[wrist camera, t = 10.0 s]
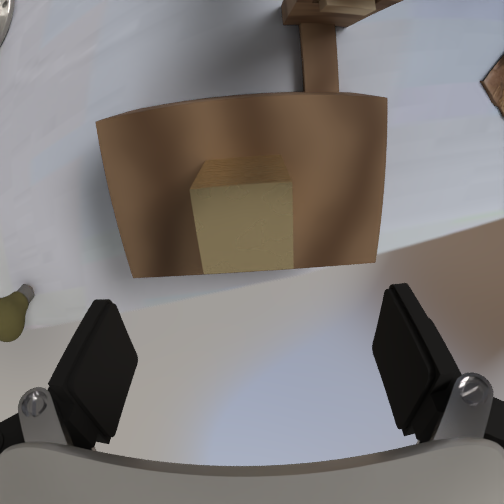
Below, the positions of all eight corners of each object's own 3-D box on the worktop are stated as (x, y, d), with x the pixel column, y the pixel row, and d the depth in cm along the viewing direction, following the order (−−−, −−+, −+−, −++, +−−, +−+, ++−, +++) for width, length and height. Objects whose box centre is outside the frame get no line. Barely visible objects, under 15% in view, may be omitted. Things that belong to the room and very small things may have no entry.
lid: (138, 267, 27) (109, 326, 20) (105, 118, 20) (48, 138, 13) (369, 252, 26) (402, 309, 19) (378, 96, 19) (432, 106, 13)
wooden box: (156, 233, 32) (119, 305, 22) (125, 27, 21) (58, 5, 11) (349, 220, 32) (390, 288, 21) (346, 8, 21) (401, -28, 11)
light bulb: (10, 271, 35) (-27, 315, 26) (36, 271, 35) (-2, 319, 26) (24, 302, 38) (-8, 348, 29) (50, 304, 38) (18, 353, 29)
